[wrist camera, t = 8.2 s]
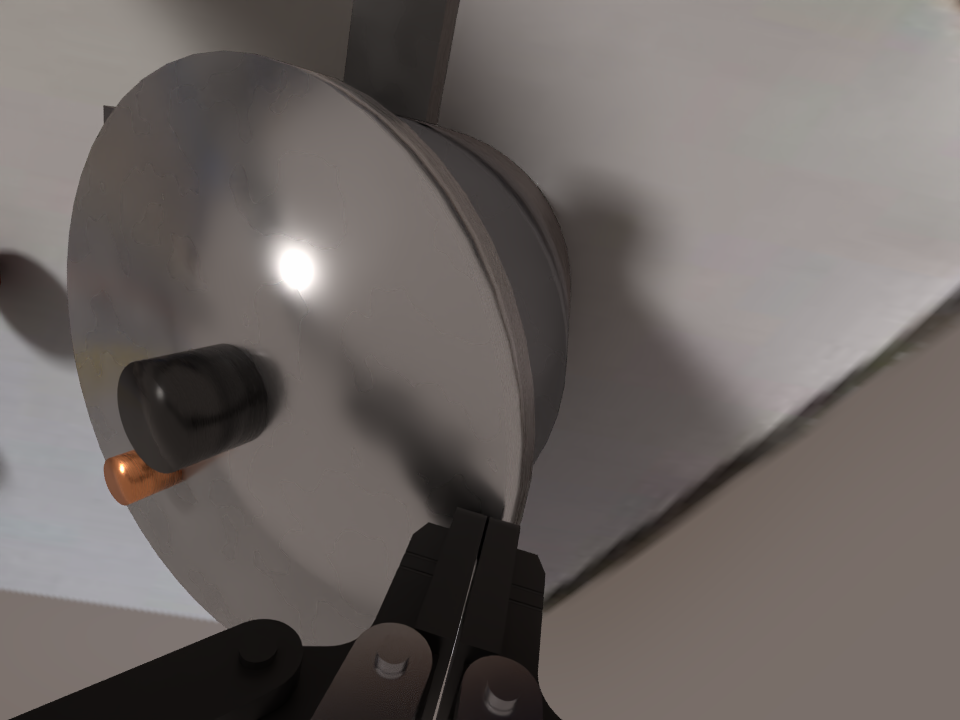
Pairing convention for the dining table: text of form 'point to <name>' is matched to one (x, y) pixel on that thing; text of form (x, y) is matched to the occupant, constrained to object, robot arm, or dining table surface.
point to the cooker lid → (290, 340)
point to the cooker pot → (471, 176)
